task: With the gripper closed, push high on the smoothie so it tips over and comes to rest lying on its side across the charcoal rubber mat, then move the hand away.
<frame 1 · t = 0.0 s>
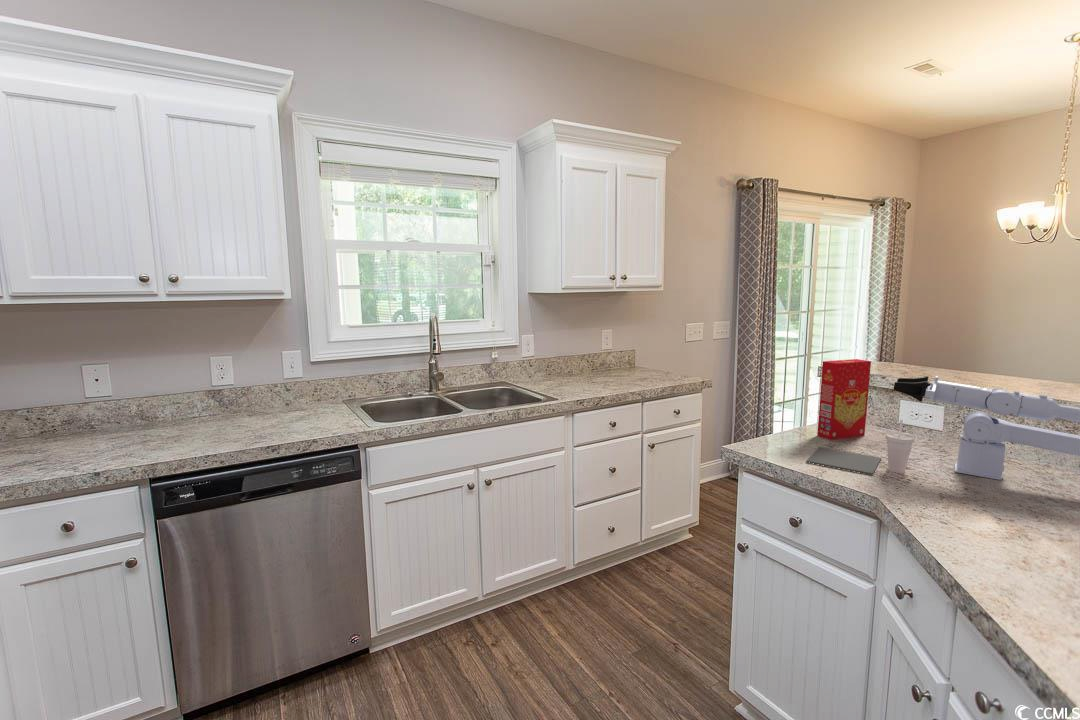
hand: (895, 383, 148), 22 cm above the worktop, tool horizontal, fingers open, 7 cm apart
smoothie: (896, 471, 140), on the worktop
food packaging: (840, 436, 173), on the worktop
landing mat: (843, 461, 148), on the worktop
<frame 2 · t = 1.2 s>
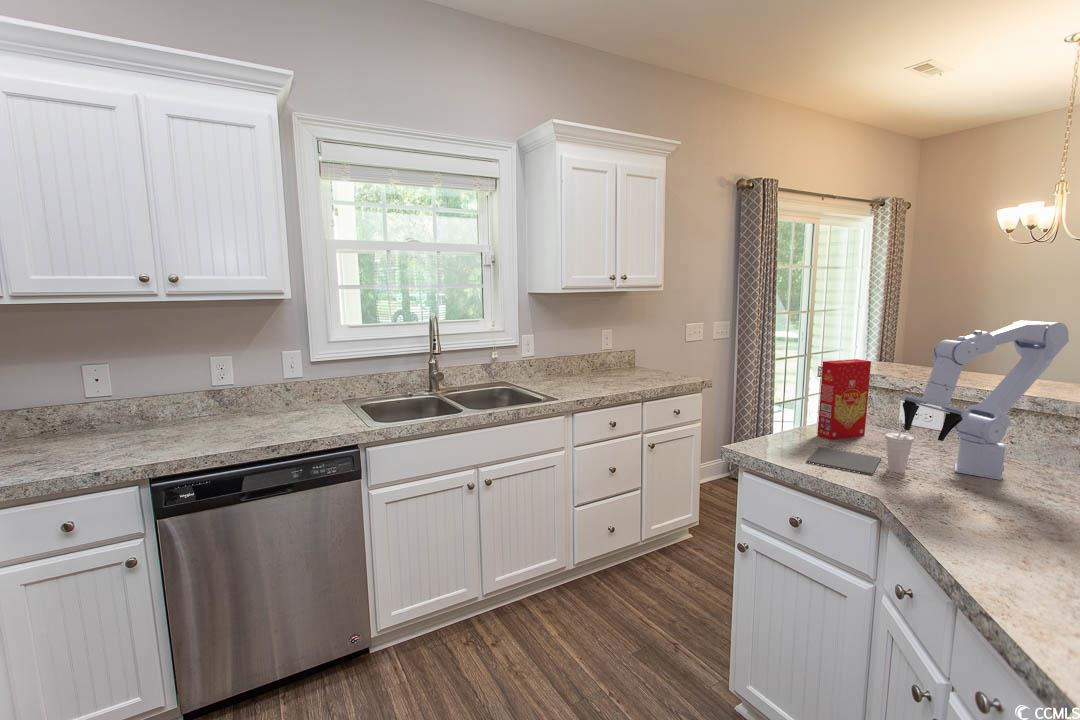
hand: (923, 435, 135), 11 cm above the worktop, tool tilted 15°, fingers open, 7 cm apart
nothing on the worktop moved.
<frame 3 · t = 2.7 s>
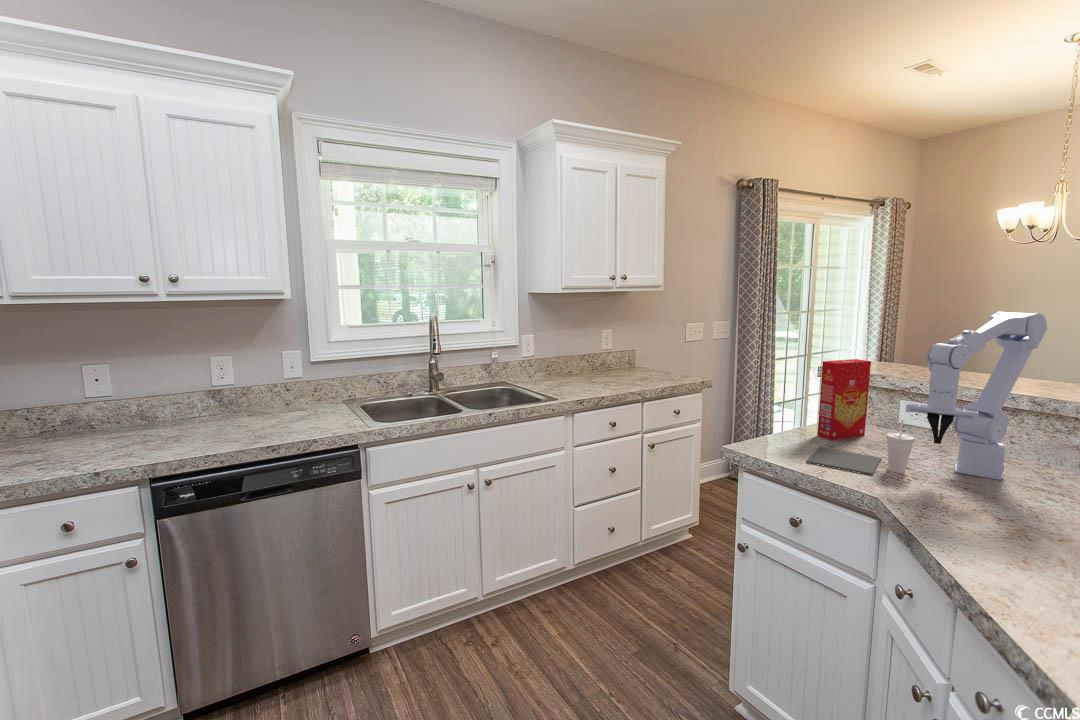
hand: (937, 442, 133), 9 cm above the worktop, tool pointing down, fingers closed
nothing on the worktop moved.
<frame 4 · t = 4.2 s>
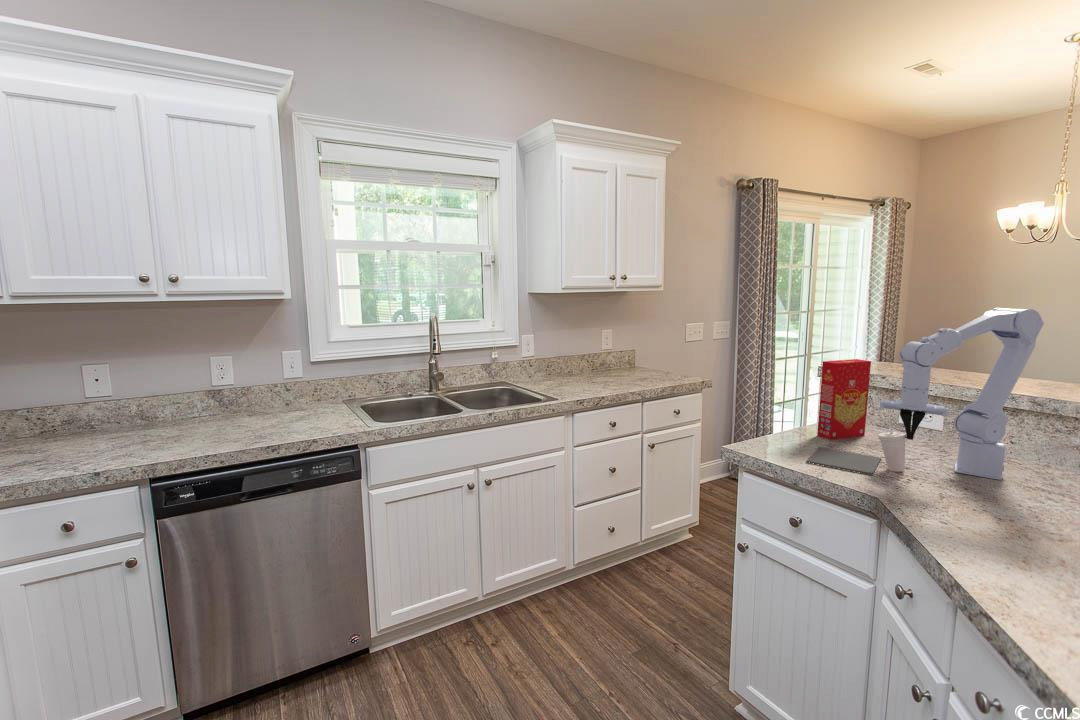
hand: (909, 438, 137), 9 cm above the worktop, tool pointing down, fingers closed
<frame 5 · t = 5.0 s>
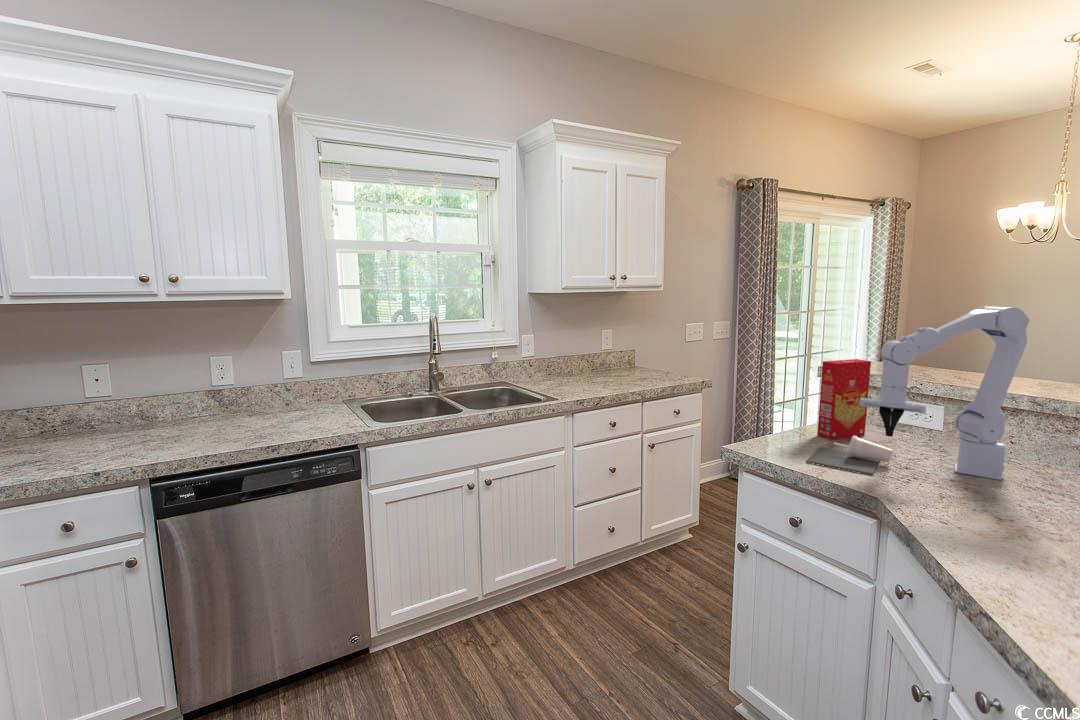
hand: (889, 435, 140), 9 cm above the worktop, tool pointing down, fingers closed
smoothie: (891, 456, 143), point 3 cm above the worktop, touching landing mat
everything else where it was.
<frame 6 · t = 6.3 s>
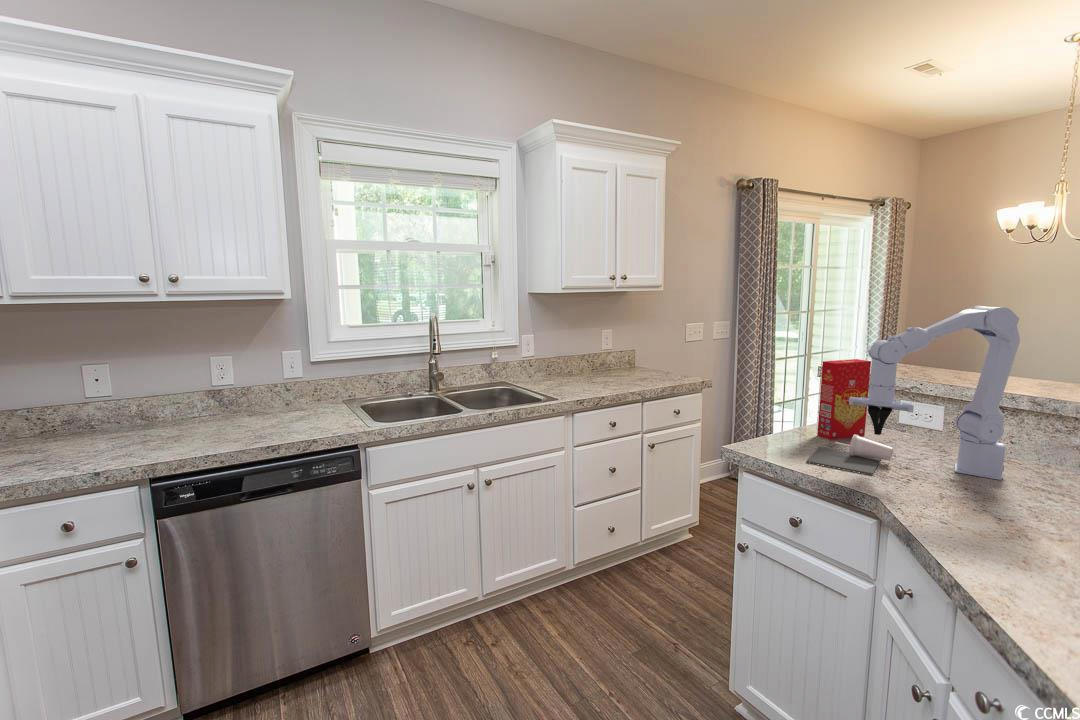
hand: (877, 433, 142), 9 cm above the worktop, tool pointing down, fingers closed
smoothie: (892, 454, 144), point 3 cm above the worktop, touching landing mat
everything else where it was.
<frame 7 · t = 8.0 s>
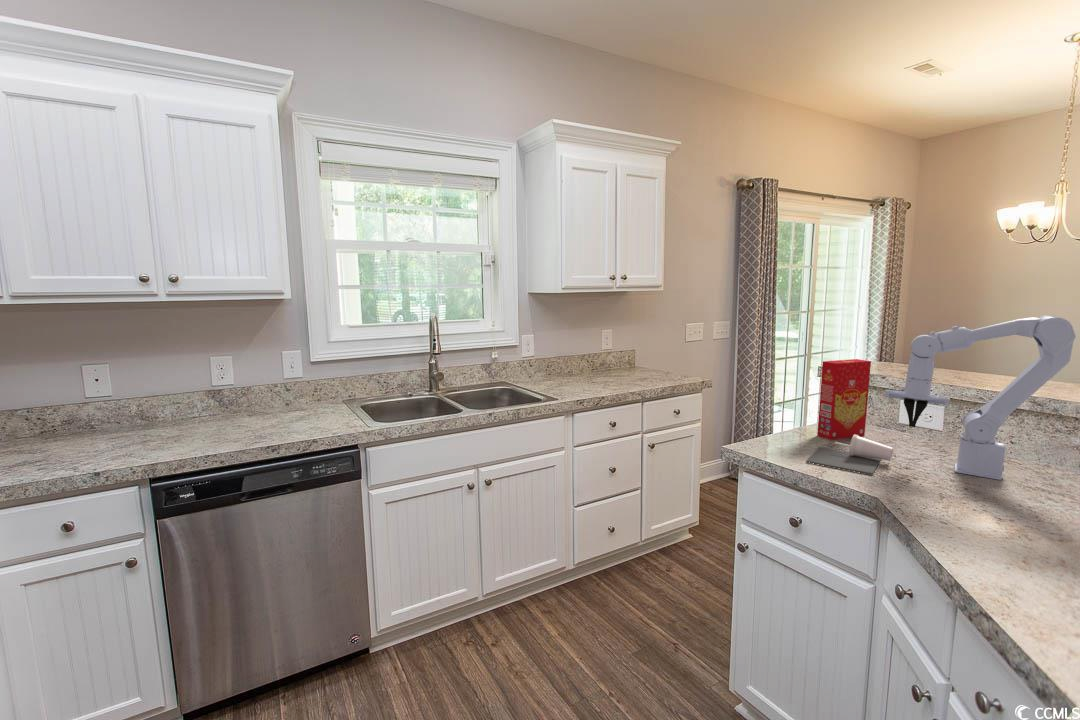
hand: (912, 426, 146), 10 cm above the worktop, tool pointing down, fingers closed
nothing on the worktop moved.
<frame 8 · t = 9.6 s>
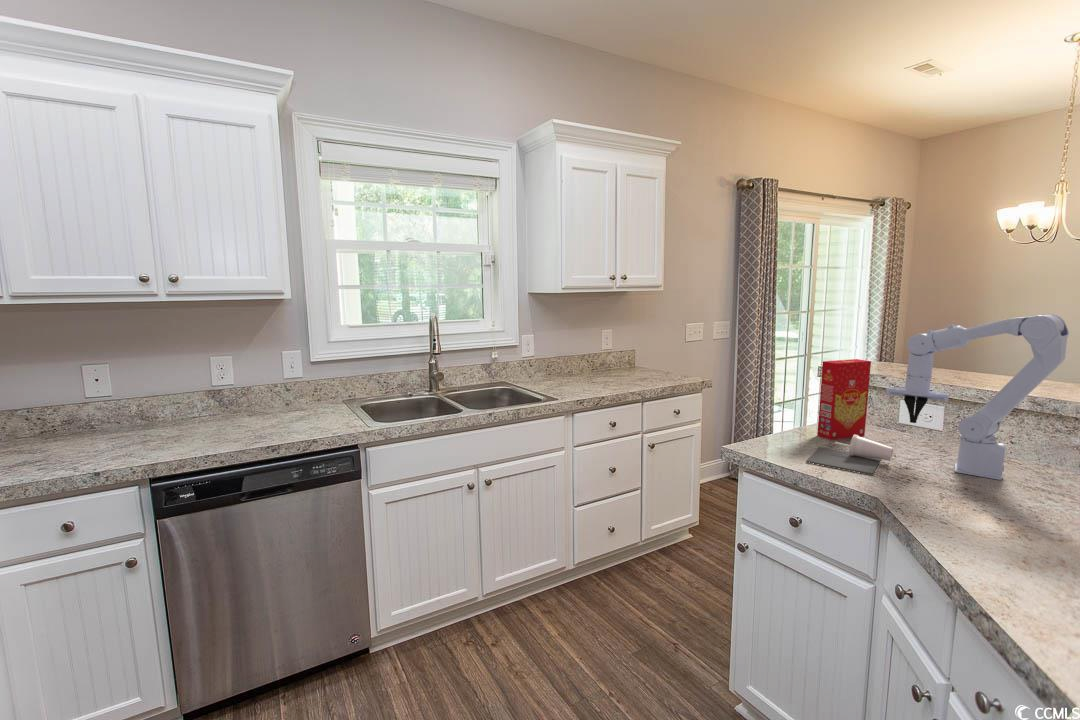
hand: (913, 422, 150), 10 cm above the worktop, tool pointing down, fingers closed
nothing on the worktop moved.
at the end: smoothie tilted 86°; smoothie inside the target area (7.0 cm from its centre), point 3.1 cm above the worktop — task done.
